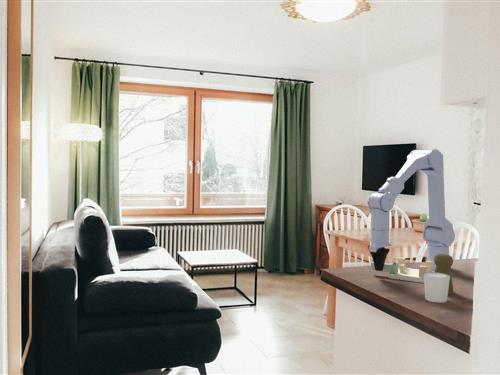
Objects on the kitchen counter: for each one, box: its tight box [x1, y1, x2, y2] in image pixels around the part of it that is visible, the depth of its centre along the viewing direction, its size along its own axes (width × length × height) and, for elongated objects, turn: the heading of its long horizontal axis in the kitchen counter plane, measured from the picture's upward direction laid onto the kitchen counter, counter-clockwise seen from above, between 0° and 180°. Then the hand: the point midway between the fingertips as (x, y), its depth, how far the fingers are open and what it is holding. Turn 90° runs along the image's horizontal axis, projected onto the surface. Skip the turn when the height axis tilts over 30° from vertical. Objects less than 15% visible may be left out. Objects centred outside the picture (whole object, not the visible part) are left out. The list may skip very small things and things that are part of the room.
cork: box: [434, 254, 454, 295], centre depth 135 cm, size 6×6×11 cm
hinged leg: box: [370, 261, 398, 273], centre depth 153 cm, size 9×2×3 cm, turn 57°
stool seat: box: [388, 257, 435, 284], centre depth 152 cm, size 12×12×5 cm
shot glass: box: [423, 271, 450, 304], centre depth 126 cm, size 7×7×7 cm
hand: (378, 270), depth 150 cm, fingers closed
